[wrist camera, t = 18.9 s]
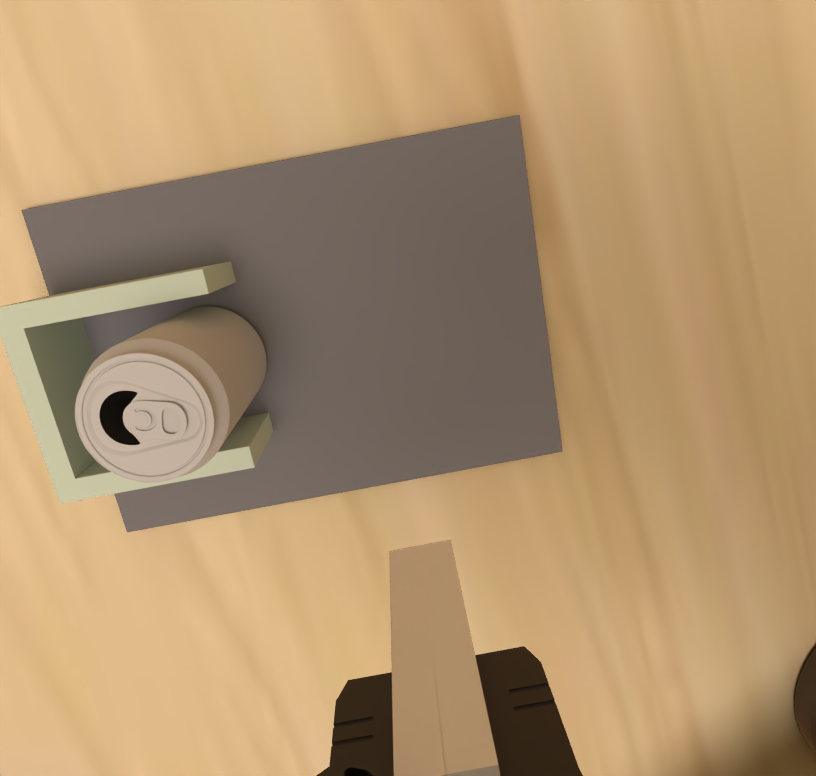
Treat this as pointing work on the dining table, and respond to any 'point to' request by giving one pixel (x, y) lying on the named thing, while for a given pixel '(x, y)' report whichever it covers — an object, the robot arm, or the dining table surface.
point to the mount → (309, 318)
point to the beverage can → (170, 394)
